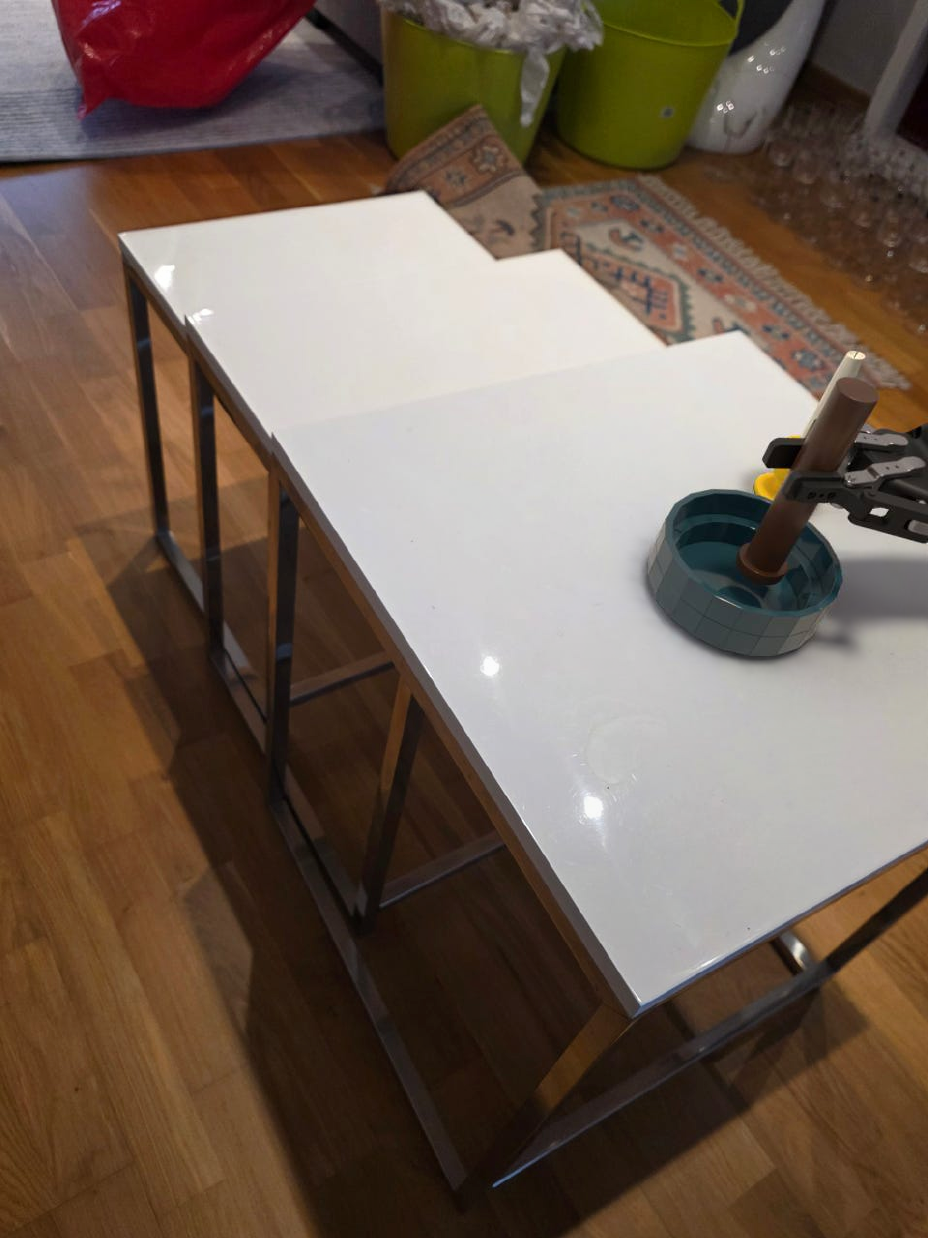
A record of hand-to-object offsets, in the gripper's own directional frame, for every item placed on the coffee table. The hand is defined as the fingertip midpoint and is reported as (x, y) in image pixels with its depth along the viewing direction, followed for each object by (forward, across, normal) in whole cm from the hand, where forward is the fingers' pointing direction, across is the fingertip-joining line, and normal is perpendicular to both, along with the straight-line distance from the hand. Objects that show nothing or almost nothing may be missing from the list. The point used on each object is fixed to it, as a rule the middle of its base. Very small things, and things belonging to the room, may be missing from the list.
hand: (778, 469), depth 69 cm
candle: (-11, -12, +13) cm, 21 cm away
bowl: (-1, 0, +13) cm, 13 cm away
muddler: (-3, 0, +10) cm, 10 cm away
